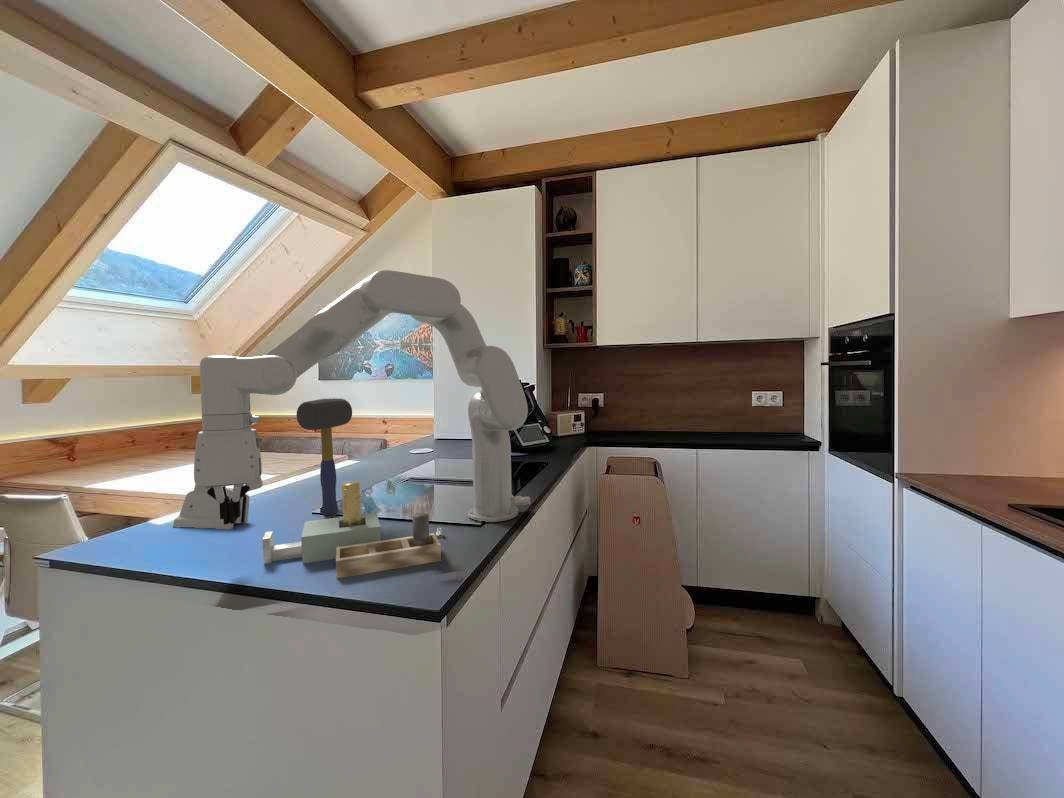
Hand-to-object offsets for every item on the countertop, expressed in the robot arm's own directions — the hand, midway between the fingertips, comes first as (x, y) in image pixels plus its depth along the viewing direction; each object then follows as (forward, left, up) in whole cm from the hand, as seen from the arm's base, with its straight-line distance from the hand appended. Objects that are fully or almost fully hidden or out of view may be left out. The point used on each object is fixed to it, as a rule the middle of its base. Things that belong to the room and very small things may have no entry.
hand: (230, 521), depth 87 cm
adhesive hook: (-37, +1, -10) cm, 38 cm away
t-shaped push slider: (-9, 0, -9) cm, 13 cm away
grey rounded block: (+10, -35, -10) cm, 37 cm away
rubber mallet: (-16, -27, -9) cm, 33 cm away
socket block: (-19, 0, -9) cm, 21 cm away
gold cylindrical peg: (-21, 0, -8) cm, 22 cm away
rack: (-27, +11, -9) cm, 30 cm away
